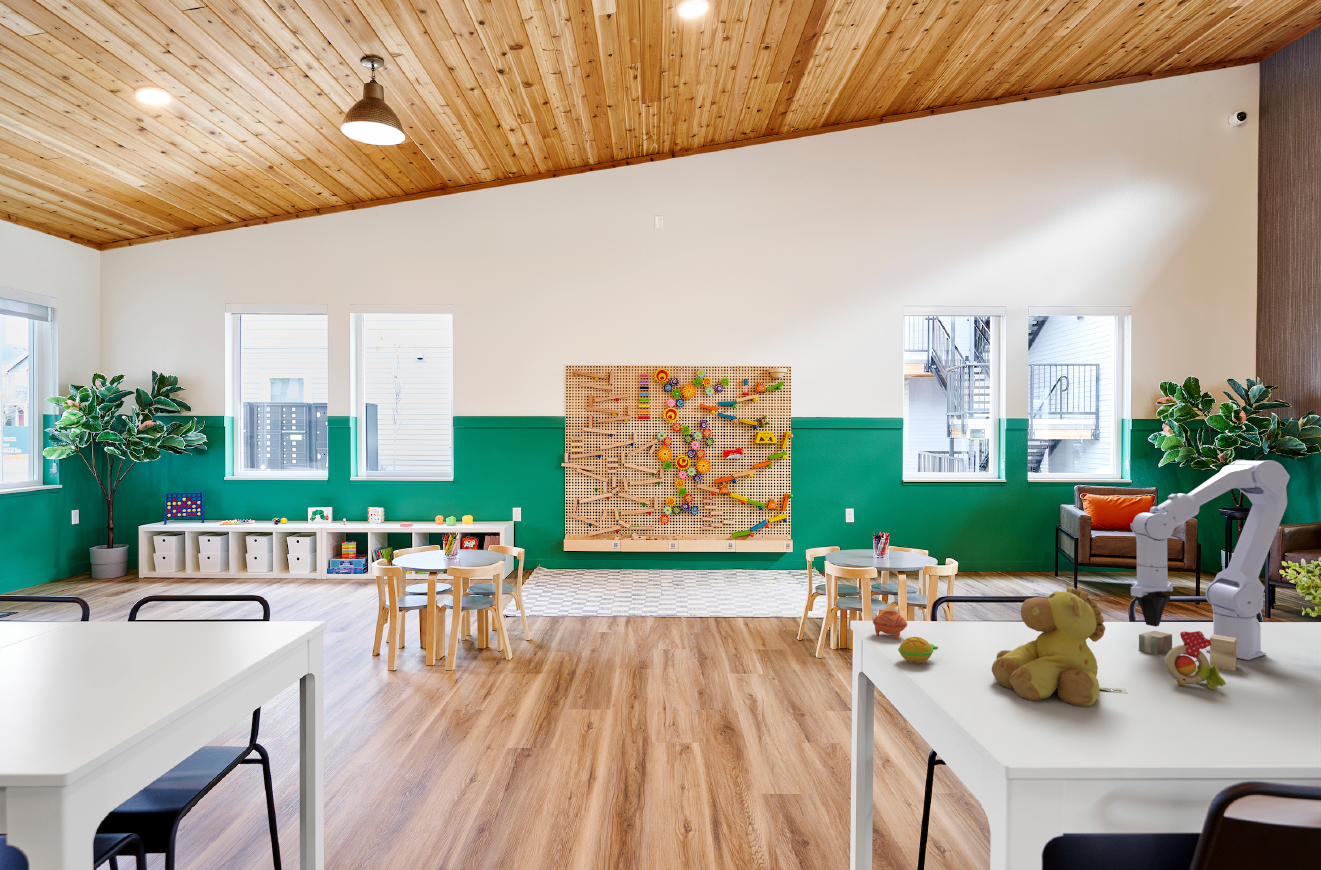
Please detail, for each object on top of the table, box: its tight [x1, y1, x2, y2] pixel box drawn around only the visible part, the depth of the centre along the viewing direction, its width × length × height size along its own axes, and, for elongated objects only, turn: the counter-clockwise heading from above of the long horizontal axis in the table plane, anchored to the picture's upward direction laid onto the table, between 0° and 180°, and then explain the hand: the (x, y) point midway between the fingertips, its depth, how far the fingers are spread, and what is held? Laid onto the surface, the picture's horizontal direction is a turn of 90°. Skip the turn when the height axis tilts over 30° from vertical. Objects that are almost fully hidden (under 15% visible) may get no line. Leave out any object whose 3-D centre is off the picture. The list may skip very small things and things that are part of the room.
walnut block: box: [1138, 630, 1173, 655], centre depth 157 cm, size 4×4×7 cm
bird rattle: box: [1164, 630, 1227, 691], centre depth 133 cm, size 6×11×9 cm
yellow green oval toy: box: [897, 636, 939, 665], centre depth 148 cm, size 7×10×5 cm
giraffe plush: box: [991, 586, 1129, 708], centre depth 132 cm, size 20×24×19 cm
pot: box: [872, 610, 908, 640], centre depth 167 cm, size 8×8×7 cm
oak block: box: [1209, 634, 1238, 671], centre depth 146 cm, size 4×4×6 cm
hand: (1152, 625), depth 156 cm, fingers closed
